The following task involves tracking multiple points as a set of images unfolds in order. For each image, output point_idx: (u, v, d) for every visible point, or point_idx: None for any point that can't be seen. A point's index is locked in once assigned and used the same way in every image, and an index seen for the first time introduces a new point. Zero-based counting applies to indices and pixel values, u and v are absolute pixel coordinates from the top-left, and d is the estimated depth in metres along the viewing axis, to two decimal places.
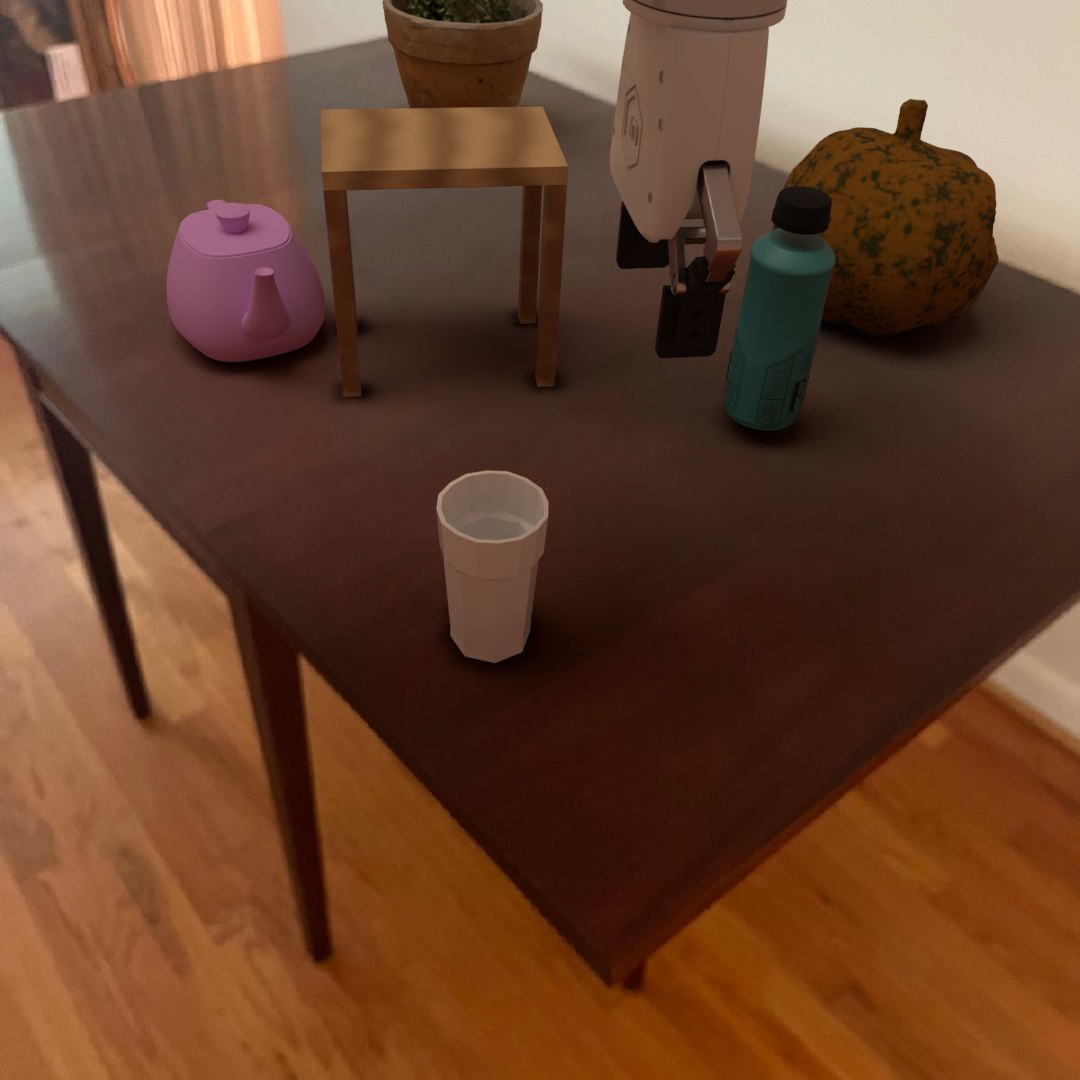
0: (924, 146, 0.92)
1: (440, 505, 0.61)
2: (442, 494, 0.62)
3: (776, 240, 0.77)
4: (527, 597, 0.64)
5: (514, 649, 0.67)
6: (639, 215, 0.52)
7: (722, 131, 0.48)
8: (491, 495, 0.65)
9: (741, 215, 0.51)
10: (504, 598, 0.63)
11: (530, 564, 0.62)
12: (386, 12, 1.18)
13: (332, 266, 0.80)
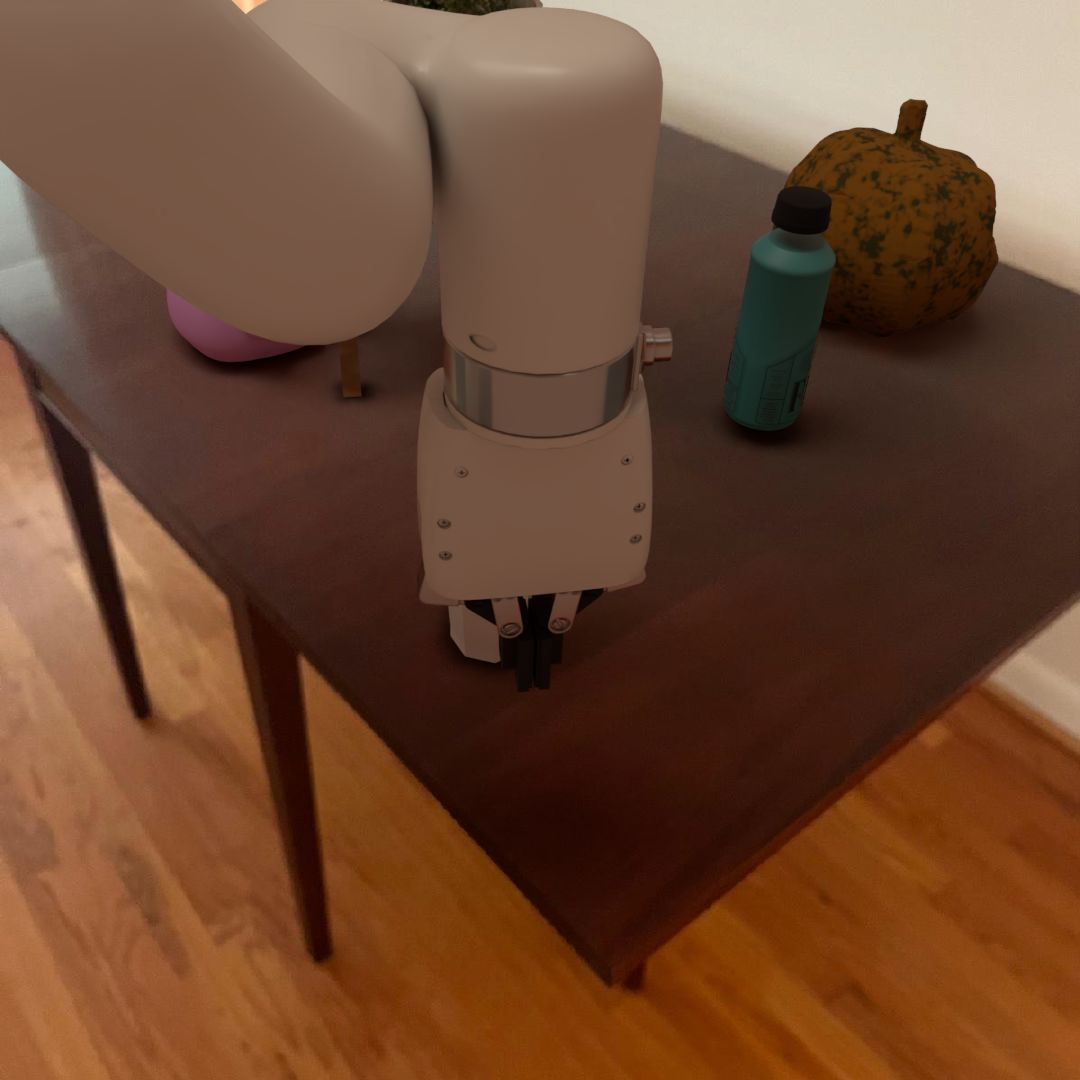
0: (924, 146, 0.92)
1: None
2: None
3: (776, 240, 0.77)
4: (527, 597, 0.64)
5: None
6: None
7: (419, 479, 0.44)
8: None
9: (430, 577, 0.46)
10: None
11: None
12: None
13: None
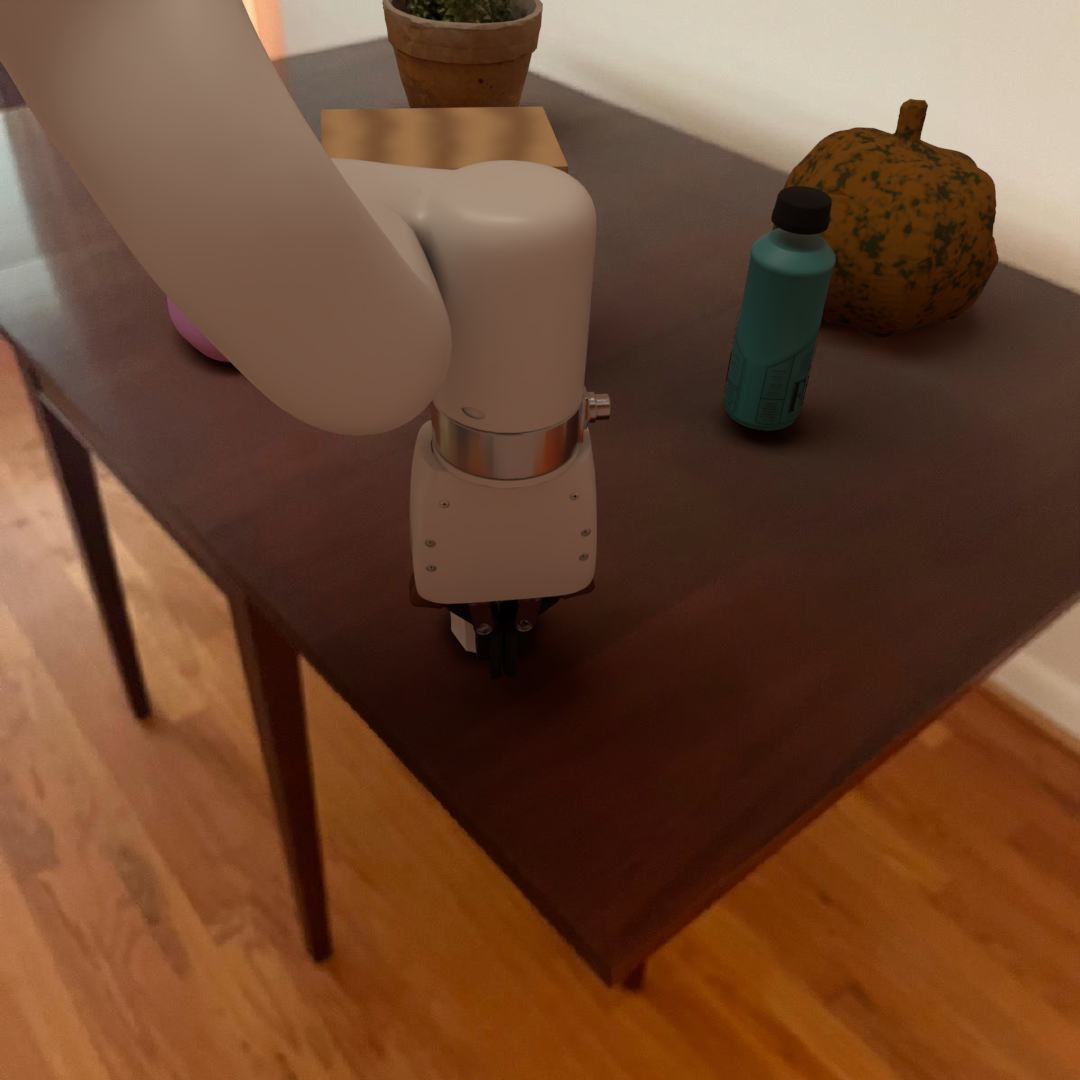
0: (924, 146, 0.92)
1: None
2: None
3: (776, 240, 0.77)
4: None
5: None
6: None
7: (411, 507, 0.55)
8: None
9: (419, 585, 0.57)
10: None
11: None
12: (386, 12, 1.18)
13: None
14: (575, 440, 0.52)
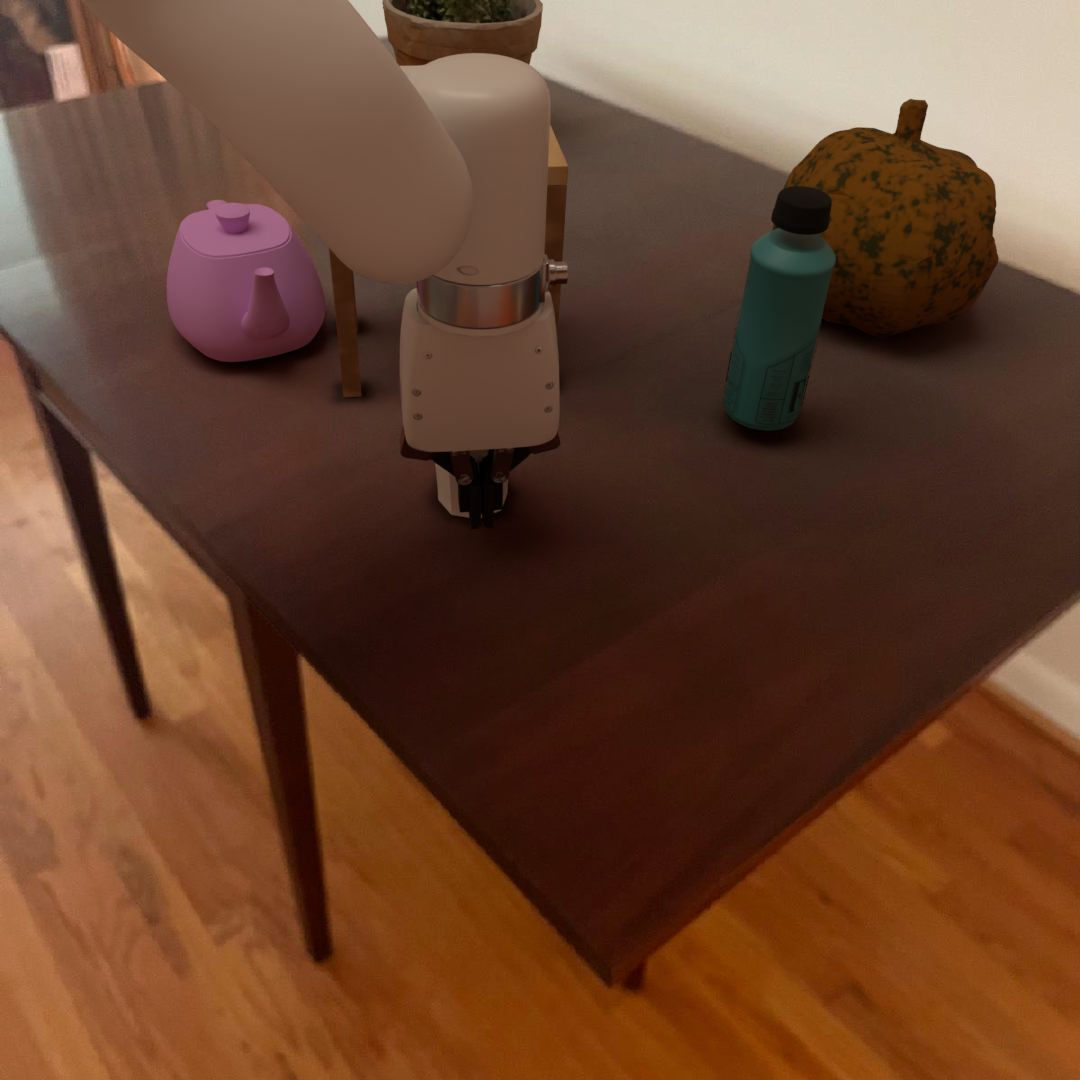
0: (924, 146, 0.92)
1: None
2: None
3: (776, 240, 0.77)
4: None
5: None
6: None
7: (401, 364, 0.65)
8: None
9: (407, 433, 0.67)
10: (485, 455, 0.73)
11: None
12: (386, 12, 1.18)
13: (332, 266, 0.80)
14: (537, 298, 0.61)
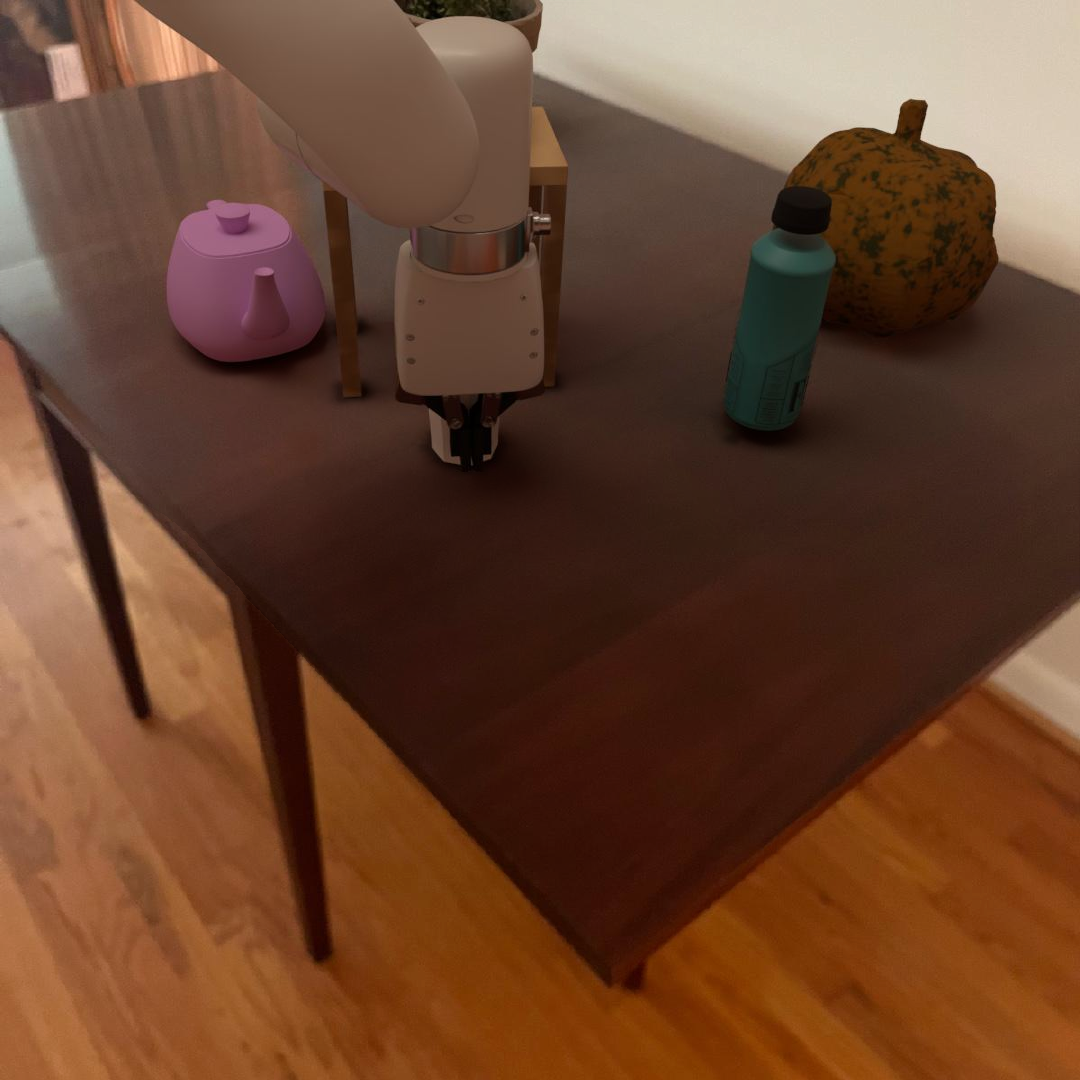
0: (924, 146, 0.92)
1: None
2: None
3: (776, 240, 0.77)
4: None
5: (484, 455, 0.82)
6: None
7: (395, 311, 0.70)
8: None
9: (401, 377, 0.71)
10: (474, 403, 0.78)
11: None
12: None
13: (332, 266, 0.80)
14: (522, 247, 0.66)
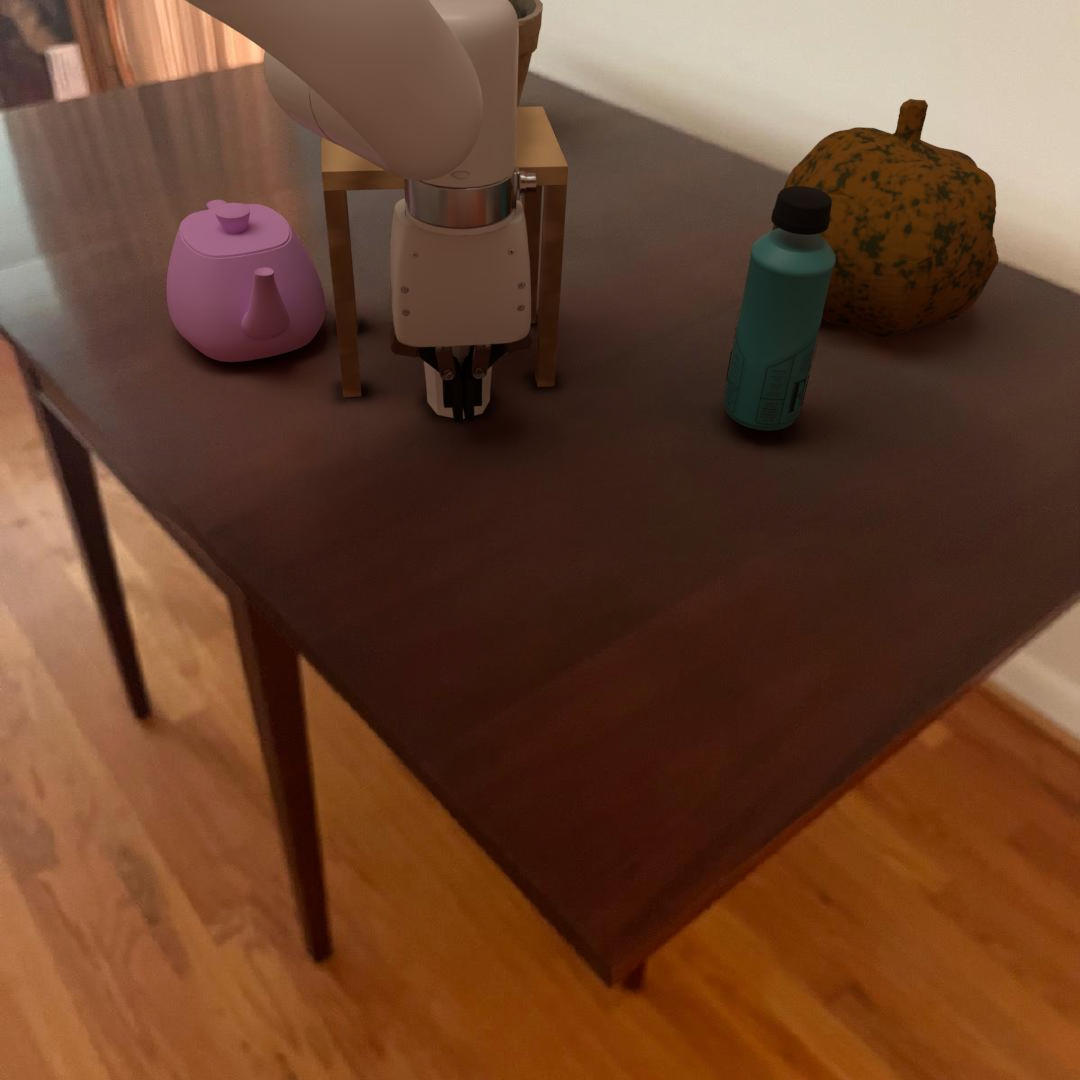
0: (924, 146, 0.92)
1: None
2: None
3: (776, 240, 0.77)
4: None
5: (475, 409, 0.87)
6: None
7: (391, 265, 0.74)
8: None
9: (397, 329, 0.76)
10: None
11: None
12: None
13: (332, 266, 0.80)
14: (510, 203, 0.70)
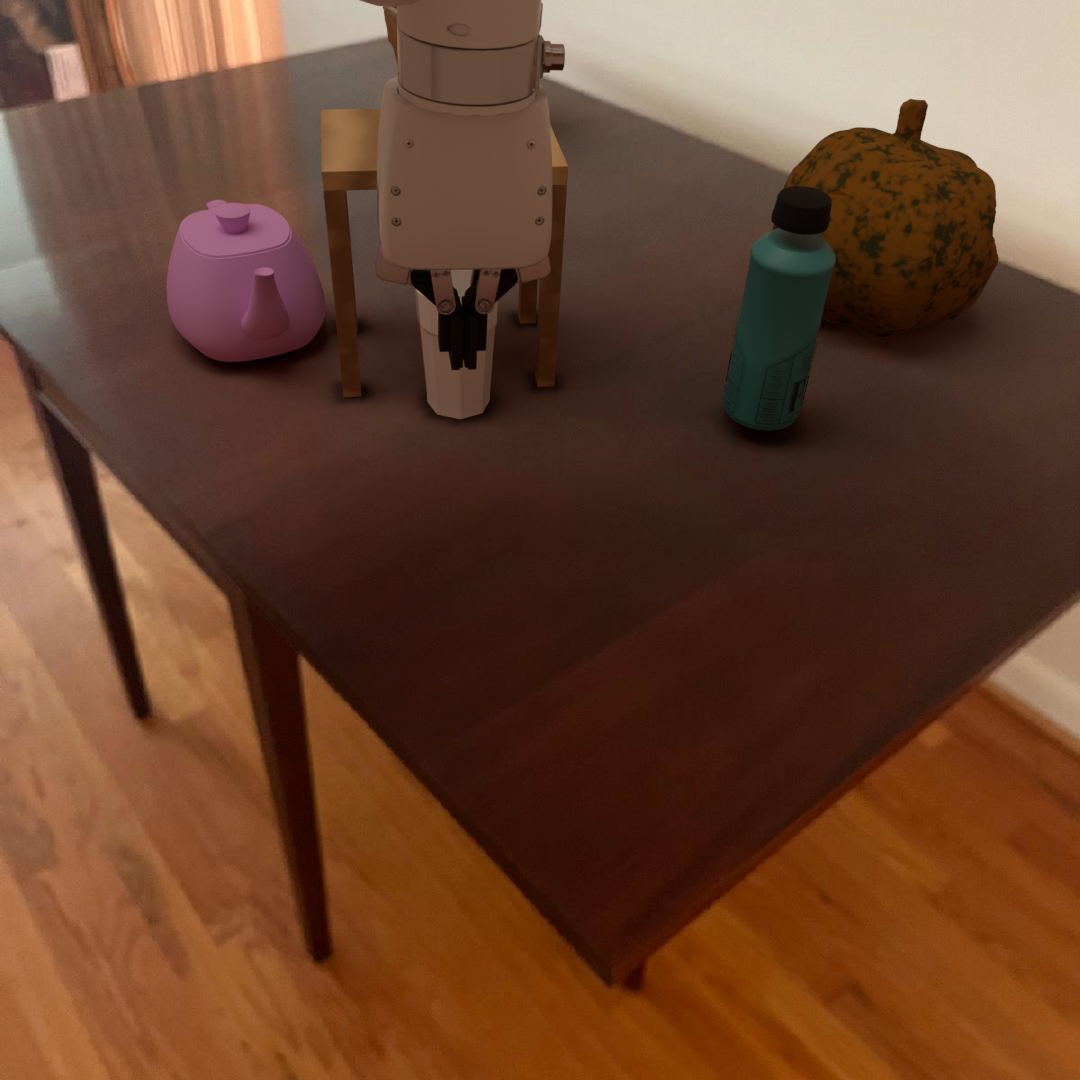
0: (924, 146, 0.92)
1: None
2: None
3: (776, 240, 0.77)
4: (484, 361, 0.84)
5: (475, 409, 0.87)
6: None
7: (378, 162, 0.59)
8: (458, 284, 0.84)
9: (384, 244, 0.61)
10: None
11: None
12: (386, 12, 1.18)
13: (332, 266, 0.80)
14: (531, 79, 0.56)
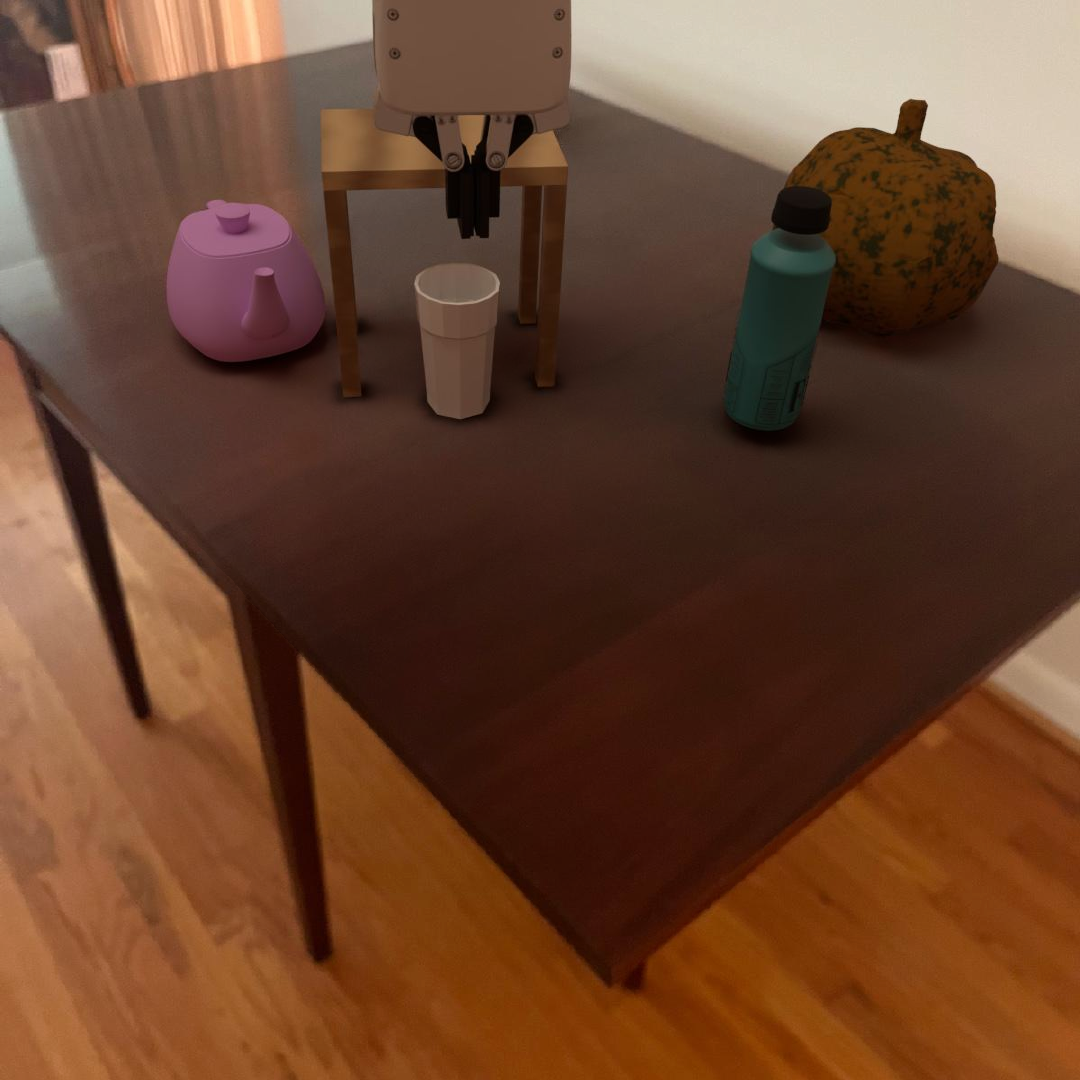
0: (924, 146, 0.92)
1: (417, 281, 0.81)
2: (419, 275, 0.82)
3: (776, 240, 0.77)
4: (484, 361, 0.84)
5: (475, 409, 0.87)
6: None
7: None
8: (458, 284, 0.84)
9: (382, 82, 0.53)
10: (465, 358, 0.82)
11: (485, 329, 0.81)
12: None
13: (332, 266, 0.80)
14: None
